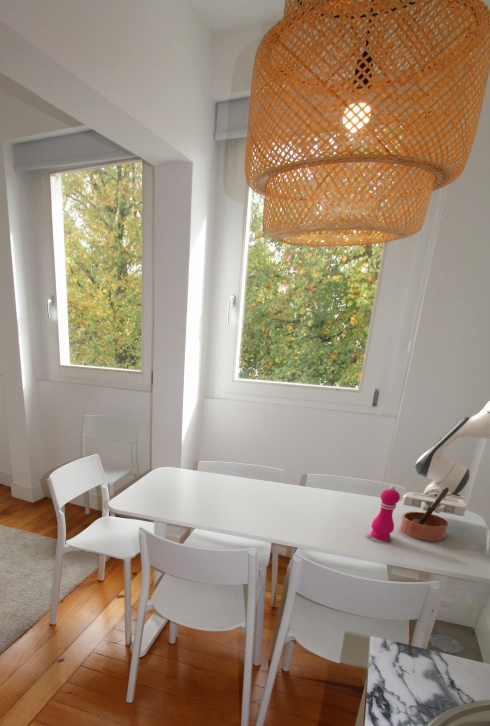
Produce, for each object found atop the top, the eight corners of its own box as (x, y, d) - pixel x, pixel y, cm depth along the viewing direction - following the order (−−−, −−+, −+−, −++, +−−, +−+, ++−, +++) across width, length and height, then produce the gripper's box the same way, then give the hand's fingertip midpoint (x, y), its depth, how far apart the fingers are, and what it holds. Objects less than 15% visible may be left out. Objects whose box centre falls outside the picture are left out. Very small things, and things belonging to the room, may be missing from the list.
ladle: (425, 529, 174) (457, 488, 162) (422, 536, 170) (454, 495, 158) (411, 521, 176) (441, 480, 164) (407, 527, 172) (437, 486, 160)
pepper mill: (389, 544, 164) (403, 491, 156) (367, 538, 167) (380, 486, 159) (391, 536, 170) (405, 484, 161) (370, 531, 173) (383, 480, 165)
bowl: (445, 532, 174) (449, 517, 172) (442, 546, 163) (446, 530, 161) (402, 523, 182) (406, 509, 179) (396, 535, 170) (400, 520, 168)
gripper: (406, 485, 181) (401, 495, 170) (468, 496, 170) (467, 507, 160) (402, 501, 183) (397, 511, 172) (464, 512, 173) (462, 524, 162)
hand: (431, 509), depth 166 cm, fingers closed on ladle, 2 cm apart
